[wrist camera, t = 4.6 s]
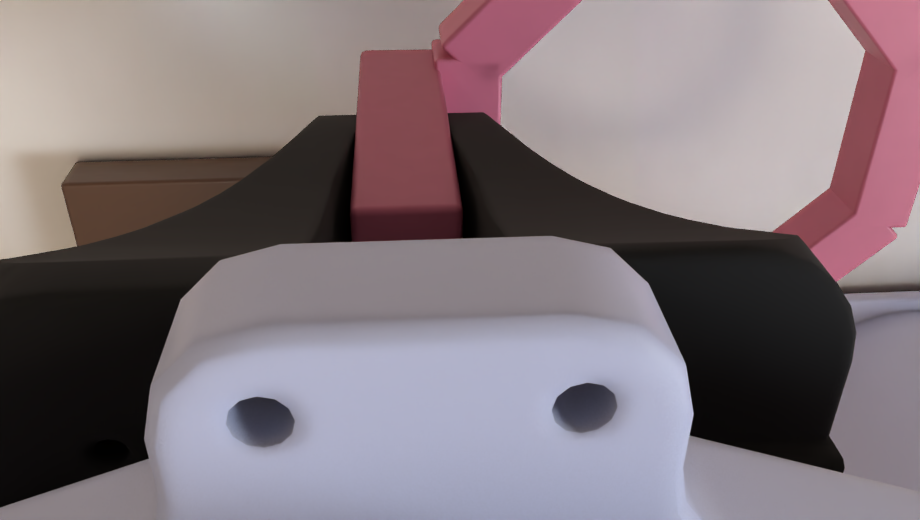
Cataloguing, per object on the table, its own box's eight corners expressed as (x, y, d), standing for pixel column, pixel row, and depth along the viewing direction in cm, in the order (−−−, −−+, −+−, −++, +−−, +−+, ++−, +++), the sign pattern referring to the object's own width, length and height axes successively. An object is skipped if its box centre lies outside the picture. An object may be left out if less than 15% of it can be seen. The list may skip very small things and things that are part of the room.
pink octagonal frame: (977, -137, 13) (1291, -58, 8) (846, 312, 17) (1007, 521, 13) (350, -134, 12) (331, -48, 8) (375, 329, 16) (372, 556, 12)
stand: (458, 150, 21) (477, 260, 17) (457, 428, 26) (472, 568, 22) (75, 160, 20) (-6, 277, 16) (146, 443, 25) (98, 591, 21)
